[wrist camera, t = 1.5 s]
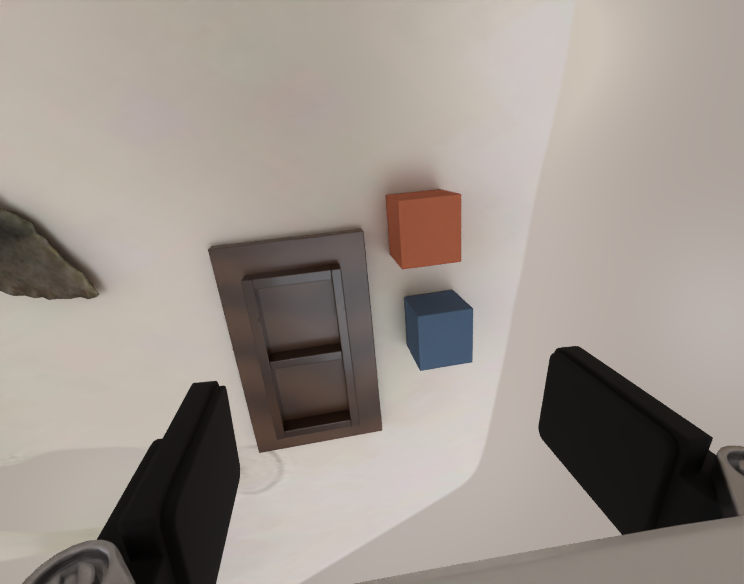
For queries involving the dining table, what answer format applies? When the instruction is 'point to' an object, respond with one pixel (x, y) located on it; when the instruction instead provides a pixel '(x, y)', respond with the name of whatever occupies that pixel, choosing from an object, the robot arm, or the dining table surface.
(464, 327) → the blue block
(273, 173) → the dining table surface
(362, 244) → the dark brown flat tray
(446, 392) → the dining table surface
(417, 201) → the orange-brown block
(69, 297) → the arrowhead
